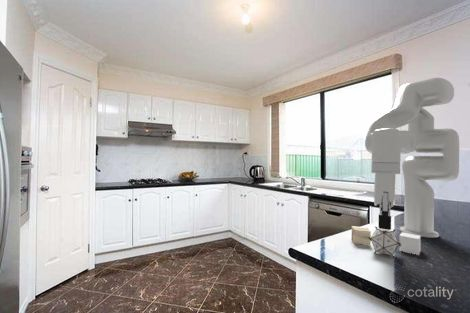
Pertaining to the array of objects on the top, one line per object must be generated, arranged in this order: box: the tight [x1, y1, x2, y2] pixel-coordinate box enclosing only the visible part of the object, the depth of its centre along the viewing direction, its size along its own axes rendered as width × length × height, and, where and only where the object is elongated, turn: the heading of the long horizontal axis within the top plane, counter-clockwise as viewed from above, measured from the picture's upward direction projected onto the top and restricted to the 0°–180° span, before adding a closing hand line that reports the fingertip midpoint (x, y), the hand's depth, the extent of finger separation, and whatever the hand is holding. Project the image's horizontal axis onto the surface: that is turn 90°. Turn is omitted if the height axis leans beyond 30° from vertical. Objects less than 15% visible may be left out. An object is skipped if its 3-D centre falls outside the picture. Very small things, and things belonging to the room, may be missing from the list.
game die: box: [368, 226, 401, 259], centre depth 71 cm, size 9×8×10 cm
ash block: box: [351, 225, 372, 246], centre depth 82 cm, size 5×5×5 cm
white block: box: [398, 231, 422, 256], centre depth 75 cm, size 5×5×5 cm
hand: (384, 228), depth 71 cm, fingers closed
